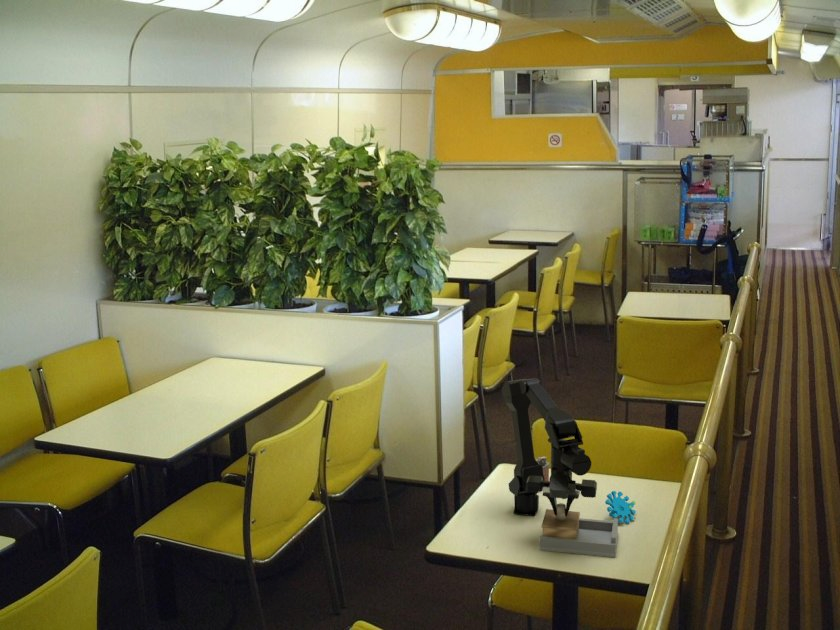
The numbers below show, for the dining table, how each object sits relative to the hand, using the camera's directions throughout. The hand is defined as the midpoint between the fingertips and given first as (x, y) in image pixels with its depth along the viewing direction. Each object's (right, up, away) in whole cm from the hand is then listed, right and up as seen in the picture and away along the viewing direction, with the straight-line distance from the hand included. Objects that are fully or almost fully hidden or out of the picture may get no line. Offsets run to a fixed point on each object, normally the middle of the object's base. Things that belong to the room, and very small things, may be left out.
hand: (561, 515), depth 250 cm
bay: (+5, -7, 0) cm, 9 cm away
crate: (0, -6, +1) cm, 6 cm away
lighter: (-1, +1, +35) cm, 35 cm away
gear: (+19, -4, +13) cm, 24 cm away
